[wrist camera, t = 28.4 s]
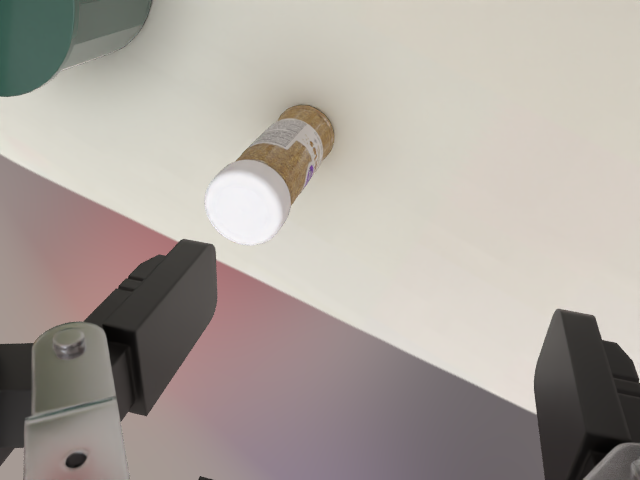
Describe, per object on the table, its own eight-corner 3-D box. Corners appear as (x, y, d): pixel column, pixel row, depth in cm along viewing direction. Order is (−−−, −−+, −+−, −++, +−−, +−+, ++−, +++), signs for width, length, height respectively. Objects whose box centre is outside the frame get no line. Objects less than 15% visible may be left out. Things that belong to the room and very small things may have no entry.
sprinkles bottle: (334, 165, 43) (281, 253, 31) (276, 158, 43) (204, 242, 32) (336, 105, 40) (281, 177, 29) (275, 99, 41) (198, 167, 30)
